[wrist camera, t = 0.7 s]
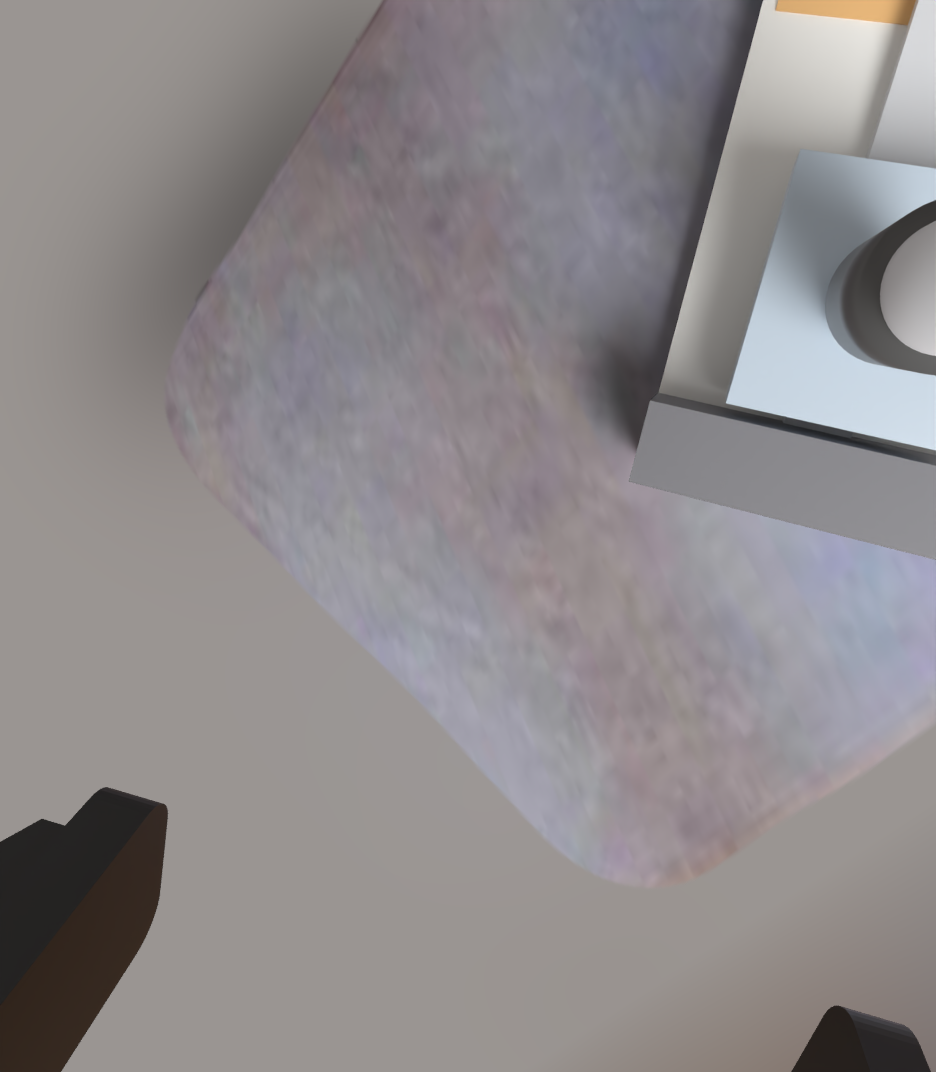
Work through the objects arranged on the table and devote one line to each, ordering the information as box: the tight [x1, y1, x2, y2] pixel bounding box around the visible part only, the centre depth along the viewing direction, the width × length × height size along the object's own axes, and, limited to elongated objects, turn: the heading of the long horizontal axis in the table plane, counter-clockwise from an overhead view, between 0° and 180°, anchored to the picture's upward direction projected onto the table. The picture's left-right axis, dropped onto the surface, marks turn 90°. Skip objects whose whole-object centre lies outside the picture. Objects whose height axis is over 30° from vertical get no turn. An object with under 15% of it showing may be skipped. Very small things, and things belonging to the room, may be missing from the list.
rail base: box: [629, 0, 936, 560], centre depth 26 cm, size 28×12×6 cm, turn 168°
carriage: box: [725, 149, 936, 450], centre depth 20 cm, size 8×7×17 cm
